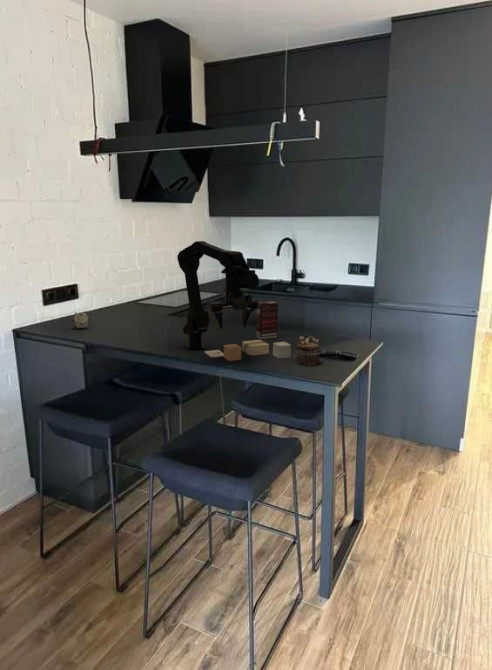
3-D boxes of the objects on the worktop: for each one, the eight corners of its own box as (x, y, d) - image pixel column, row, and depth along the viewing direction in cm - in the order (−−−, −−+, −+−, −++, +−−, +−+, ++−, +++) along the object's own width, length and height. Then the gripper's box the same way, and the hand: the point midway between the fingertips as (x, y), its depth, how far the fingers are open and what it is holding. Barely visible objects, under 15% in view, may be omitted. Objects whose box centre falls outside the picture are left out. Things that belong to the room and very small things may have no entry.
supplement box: (272, 335, 216) (273, 300, 213) (277, 337, 212) (278, 302, 208) (255, 336, 213) (256, 301, 209) (259, 339, 209) (260, 303, 205)
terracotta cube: (223, 357, 181) (223, 345, 180) (235, 356, 183) (235, 343, 182) (228, 361, 177) (228, 348, 175) (241, 359, 179) (241, 347, 177)
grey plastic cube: (272, 355, 185) (273, 342, 184) (284, 353, 187) (284, 341, 186) (278, 358, 181) (279, 346, 179) (290, 357, 183) (290, 344, 181)
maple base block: (242, 351, 191) (242, 341, 190) (260, 349, 194) (260, 339, 193) (250, 356, 184) (250, 346, 183) (268, 354, 187) (268, 344, 186)
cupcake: (289, 360, 178) (290, 335, 175) (309, 357, 182) (311, 332, 180) (305, 367, 170) (306, 340, 167) (326, 364, 175) (327, 337, 172)
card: (204, 352, 187) (204, 351, 187) (218, 350, 190) (218, 349, 190) (211, 357, 180) (211, 356, 180) (225, 356, 183) (225, 354, 183)
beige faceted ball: (85, 335, 227) (95, 317, 230) (85, 332, 219) (95, 314, 222) (67, 326, 225) (77, 308, 228) (66, 324, 217) (77, 305, 220)
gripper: (217, 291, 162) (217, 335, 166) (265, 288, 170) (264, 330, 174) (206, 286, 172) (206, 328, 176) (252, 284, 180) (251, 324, 183)
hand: (232, 328), depth 177 cm, fingers open, 9 cm apart
